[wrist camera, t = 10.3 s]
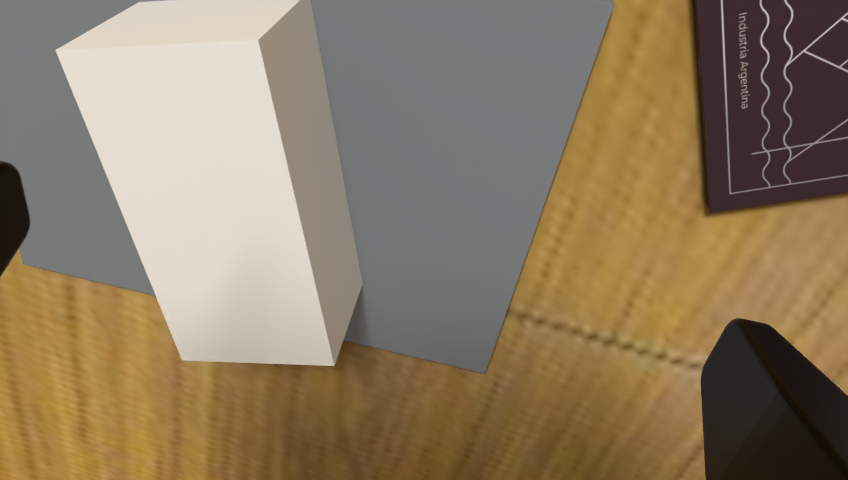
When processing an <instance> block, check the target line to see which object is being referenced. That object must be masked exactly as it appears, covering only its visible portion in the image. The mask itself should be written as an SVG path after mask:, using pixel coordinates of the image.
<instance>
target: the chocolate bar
mask: <svg viewBox="0 0 848 480" xmlns="http://www.w3.org/2000/svg"><path fill="white" fill-rule="evenodd" d="M693 1H694V16H695V31H696V46H697V62H698V77H699V92H700V107H701V122H702V137H703V153H704V168H705V183H706V198H707V205H708V208H709V210H710V213H713V212H720V211H726V210H733V209H739V208H746V207H753V206H759V205H766V204H772V203H779V202H786V201H792V200H799V199H806V198H812V197H819V196H825V195H832V194H839V193H845V192H848V0H693Z"/></svg>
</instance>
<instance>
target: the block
mask: <svg viewBox="0 0 848 480" xmlns="http://www.w3.org/2000/svg"><path fill="white" fill-rule="evenodd" d="M56 53H57V55H58V58H59V60H60V63H61V65H62V68H63V70H64V72H65V75H66V77H67V80H68V82H69V85H70V87H71V90H72V92H73V94H74V97H75V99H76V102H77V104H78V107H79V109H80V112H81V114H82V116H83V119H84V121H85V124H86V126H87V129H88V131H89V134H90V136H91V139H92V141H93V143H94V146H95V148H96V151H97V153H98V156H99V158H100V161H101V163H102V165H103V168H104V170H105V173H106V175H107V178H108V180H109V183H110V185H111V187H112V190H113V192H114V195H115V197H116V200H117V202H118V205H119V207H120V209H121V212H122V214H123V217H124V219H125V222H126V224H127V227H128V229H129V231H130V234H131V236H132V239H133V241H134V244H135V246H136V249H137V251H138V254H139V256H140V258H141V261H142V263H143V266H144V268H145V271H146V273H147V276H148V278H149V280H150V283H151V285H152V288H153V290H154V293H155V295H156V298H157V300H158V302H159V305H160V307H161V310H162V312H163V315H164V317H165V320H166V322H167V324H168V327H169V329H170V332H171V334H172V337H173V339H174V342H175V344H176V347H177V349H178V351H179V354H180V356H181V359H182V360H184V361H211V362H239V363H267V364H294V365H322V366H335V363H336V360H337V357H338V354H339V351H340V348H341V345H342V342H343V339H344V337H345V334H346V331H347V328H348V325H349V322H350V319H351V316H352V313H353V311H354V308H355V305H356V302H357V299H358V296H359V293H360V290H361V287H362V278H361V273H360V267H359V262H358V256H357V251H356V246H355V240H354V235H353V229H352V224H351V218H350V213H349V207H348V202H347V196H346V191H345V185H344V180H343V175H342V169H341V164H340V158H339V153H338V147H337V142H336V136H335V131H334V125H333V120H332V115H331V109H330V104H329V98H328V93H327V87H326V82H325V76H324V71H323V65H322V60H321V54H320V49H319V44H318V38H317V33H316V27H315V22H314V16H313V11H312V5H311V0H165V1H149V2H138V3H137V4H135V5H133V6H131V7H130V8H128V9H126V10H124V11H123V12H121V13H119V14H117V15H116V16H114V17H112V18H110V19H109V20H107V21H105V22H103V23H102V24H100V25H98V26H96V27H95V28H93V29H91V30H89V31H88V32H86V33H84V34H83V35H81V36H79V37H77V38H76V39H74V40H72V41H70V42H69V43H67V44H65V45H63V46H62V47H60V48H58V49H56Z"/></svg>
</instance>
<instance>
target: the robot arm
mask: <svg viewBox="0 0 848 480" xmlns="http://www.w3.org/2000/svg"><path fill="white" fill-rule="evenodd" d="M29 228H30V213H29V209H28V205H27V200H26V196H25V192H24V188H23V183H22V179H21V175H20V172H19V171H18V169H17V168H16V167H15V166H14V165H13V164H11V163H9V162H4V161H0V277H1V275H2V274H3V272H4V270H5V269H6V267H7V266H8V264H9V263H10V261H11V260H12V258H13V257H14V255H15V254H16V252H17V251H18V249H19V248H20V246H21V245H22V243H23V241H24V240H25V238H26V236H27V234H28V232H29ZM701 397H702V416H703V436H704V456H705V475H706V480H848V396H847V395H846V394H845V393H844V392H843V391H842V390H841V389H840V388H839V387H837V386H836V385H835V384H834V383H833V382H832V381H831V380H830V379H829V378H828V377H826V376H825V375H824V374H823V373H822V372H821V371H820V370H819V369H818V368H817V367H815V366H814V365H813V364H812V363H811V362H810V361H809V360H808V359H807V358H806V357H804V356H803V355H802V354H801V353H800V352H799V351H798V350H797V349H796V348H795V347H793V346H792V345H791V344H790V343H789V342H788V341H787V340H786V339H785V338H784V337H782V336H781V335H780V334H779V333H778V332H777V331H776V330H775V329H774V328H772V327H771V326H770V325H767V324H764V323H760V322H755V321H750V320H746V319H741V318H737V319H734V320H732V321H731V322H729V323H728V325H727V326H726V327H725V329H724V331H723V333H722V334H721V336H720V338H719V340H718V341H717V343H716V345H715V347H714V348H713V350H712V352H711V354H710V355H709V357H708V359H707V360H706V362H705V364H704V367H703V370H702V375H701Z"/></svg>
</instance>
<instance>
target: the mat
mask: <svg viewBox="0 0 848 480" xmlns="http://www.w3.org/2000/svg"><path fill="white" fill-rule="evenodd" d="M149 1H165V0H0V161H4V162H9V163H11V164H13V165H14V166H15V167H16V168H17V169H18V171H19V172H20V175H21V179H22V183H23V188H24V192H25V196H26V200H27V205H28V209H29V213H30V228H29V232H28V234H27V236H26V238H25V240H24V241H23V243H22V245H21V246H20V253H21V257H22V262H23V264H24V265H29V266H33V267H37V268H41V269H45V270H50V271H54V272H58V273H62V274H67V275H71V276H75V277H79V278H83V279H88V280H92V281H96V282H100V283H104V284H109V285H113V286H117V287H121V288H125V289H130V290H134V291H138V292H142V293H147V294H151V295H155V293H154V290H153V288H152V285H151V283H150V280H149V278H148V276H147V273H146V271H145V268H144V266H143V263H142V261H141V258H140V256H139V254H138V251H137V249H136V246H135V244H134V241H133V239H132V236H131V234H130V231H129V229H128V227H127V224H126V222H125V219H124V217H123V214H122V212H121V209H120V207H119V205H118V202H117V200H116V197H115V195H114V192H113V190H112V187H111V185H110V183H109V180H108V178H107V175H106V173H105V170H104V168H103V165H102V163H101V161H100V158H99V156H98V153H97V151H96V148H95V146H94V143H93V141H92V139H91V136H90V134H89V131H88V129H87V126H86V124H85V121H84V119H83V116H82V114H81V112H80V109H79V107H78V104H77V102H76V99H75V97H74V94H73V92H72V90H71V87H70V85H69V82H68V80H67V77H66V75H65V72H64V70H63V68H62V65H61V63H60V60H59V58H58V55H57V53H56V49H58V48H60V47H62V46H63V45H65V44H67V43H69V42H70V41H72V40H74V39H76V38H77V37H79V36H81V35H83V34H84V33H86V32H88V31H89V30H91V29H93V28H95V27H96V26H98V25H100V24H102V23H103V22H105V21H107V20H109V19H110V18H112V17H114V16H116V15H117V14H119V13H121V12H123V11H124V10H126V9H128V8H130V7H131V6H133V5H135V4H137V3H138V2H149ZM311 5H312V11H313V16H314V22H315V27H316V33H317V38H318V44H319V49H320V54H321V60H322V65H323V71H324V76H325V82H326V87H327V93H328V98H329V104H330V109H331V115H332V120H333V125H334V131H335V136H336V142H337V147H338V153H339V158H340V164H341V169H342V175H343V180H344V185H345V191H346V196H347V202H348V207H349V213H350V218H351V224H352V229H353V235H354V240H355V246H356V251H357V256H358V262H359V267H360V273H361V278H362V287H361V290H360V293H359V296H358V299H357V302H356V305H355V308H354V311H353V313H352V316H351V319H350V322H349V325H348V328H347V331H346V334H345V337H344V339H343V340H344V341H349V342H353V343H357V344H361V345H365V346H370V347H374V348H378V349H382V350H386V351H391V352H395V353H399V354H403V355H408V356H412V357H416V358H420V359H424V360H429V361H433V362H437V363H441V364H445V365H450V366H454V367H458V368H462V369H466V370H471V371H475V372H479V373H483V374H485V372H486V369H487V367H488V364H489V361H490V358H491V355H492V352H493V349H494V347H495V344H496V341H497V338H498V335H499V332H500V329H501V327H502V324H503V321H504V318H505V315H506V312H507V309H508V307H509V304H510V301H511V298H512V295H513V292H514V290H515V287H516V284H517V281H518V278H519V275H520V272H521V270H522V267H523V264H524V261H525V258H526V255H527V252H528V250H529V247H530V244H531V241H532V238H533V235H534V232H535V230H536V227H537V224H538V221H539V218H540V215H541V212H542V210H543V207H544V204H545V201H546V198H547V195H548V192H549V190H550V187H551V184H552V181H553V178H554V175H555V172H556V170H557V167H558V164H559V161H560V158H561V155H562V152H563V150H564V147H565V144H566V141H567V138H568V135H569V133H570V130H571V127H572V124H573V121H574V118H575V115H576V113H577V110H578V107H579V104H580V101H581V98H582V95H583V93H584V90H585V87H586V84H587V81H588V78H589V75H590V73H591V70H592V67H593V64H594V61H595V58H596V55H597V53H598V50H599V47H600V44H601V41H602V38H603V35H604V33H605V30H606V27H607V24H608V21H609V18H610V15H611V13H612V10H613V7H614V2H613V0H311ZM155 296H156V295H155Z"/></svg>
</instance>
